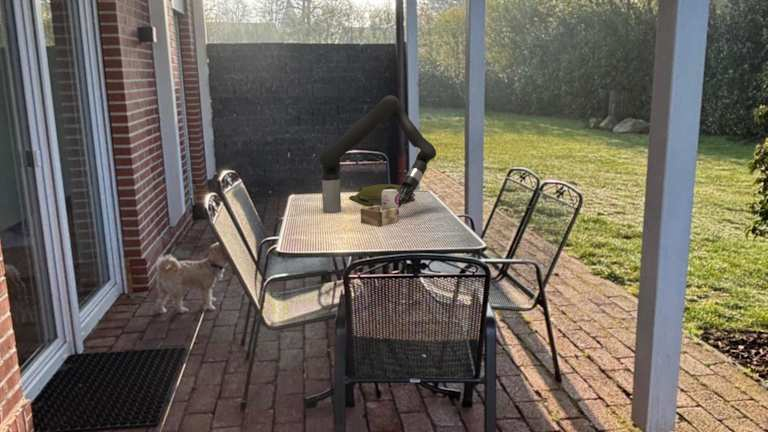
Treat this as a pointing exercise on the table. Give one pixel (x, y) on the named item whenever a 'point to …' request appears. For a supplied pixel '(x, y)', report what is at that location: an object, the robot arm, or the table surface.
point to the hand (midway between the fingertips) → (396, 207)
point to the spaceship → (373, 193)
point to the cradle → (378, 216)
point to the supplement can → (390, 200)
